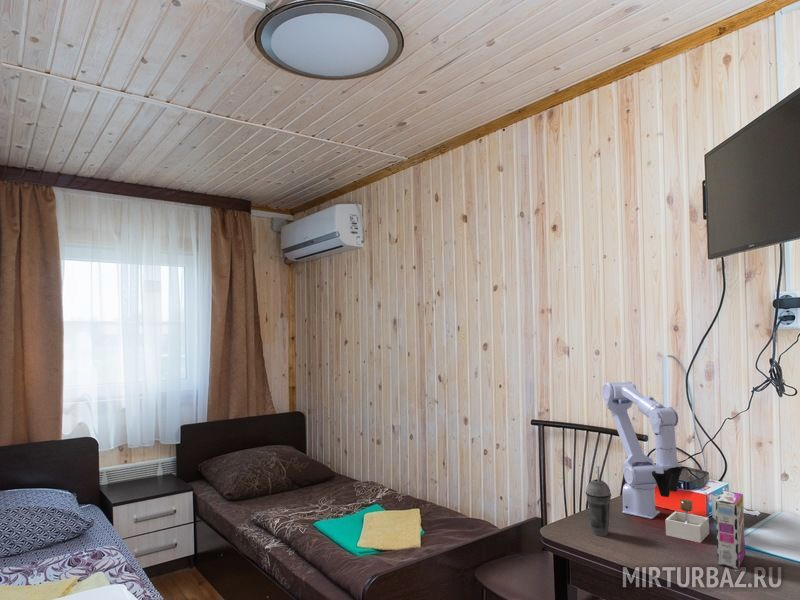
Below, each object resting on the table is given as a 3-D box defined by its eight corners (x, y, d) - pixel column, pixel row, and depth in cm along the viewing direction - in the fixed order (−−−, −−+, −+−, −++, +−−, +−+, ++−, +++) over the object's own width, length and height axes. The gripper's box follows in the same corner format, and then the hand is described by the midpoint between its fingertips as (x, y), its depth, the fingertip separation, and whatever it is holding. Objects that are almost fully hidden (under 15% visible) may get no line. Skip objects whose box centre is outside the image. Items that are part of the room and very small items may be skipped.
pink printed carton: (740, 570, 139) (736, 503, 140) (717, 565, 142) (714, 500, 143) (746, 555, 148) (743, 492, 148) (725, 551, 151) (722, 489, 152)
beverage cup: (609, 528, 169) (606, 462, 170) (616, 537, 162) (613, 468, 163) (584, 528, 170) (582, 462, 171) (590, 537, 162) (587, 468, 163)
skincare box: (742, 524, 170) (741, 500, 170) (722, 524, 170) (721, 500, 171) (730, 517, 176) (729, 494, 176) (711, 518, 176) (710, 494, 177)
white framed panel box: (666, 535, 163) (665, 519, 163) (677, 524, 171) (677, 509, 171) (700, 542, 157) (699, 526, 157) (711, 531, 165) (710, 515, 165)
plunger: (670, 529, 163) (669, 501, 163) (678, 522, 168) (676, 495, 169) (697, 535, 158) (696, 506, 159) (704, 528, 164) (703, 500, 164)
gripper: (672, 452, 161) (675, 501, 160) (686, 445, 172) (690, 490, 171) (647, 450, 166) (650, 497, 165) (662, 443, 177) (666, 487, 176)
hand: (669, 493), depth 168 cm, fingers open, 7 cm apart
